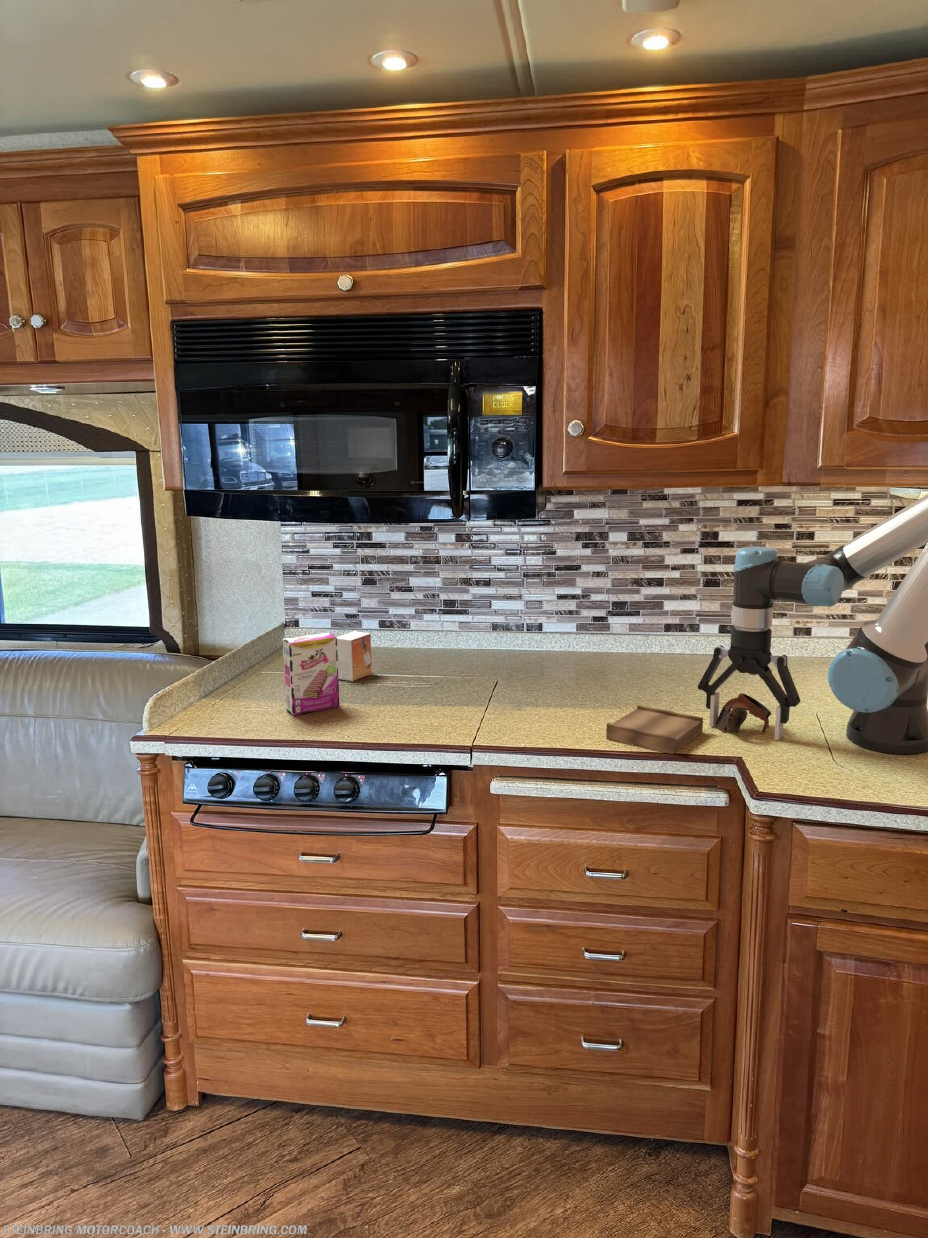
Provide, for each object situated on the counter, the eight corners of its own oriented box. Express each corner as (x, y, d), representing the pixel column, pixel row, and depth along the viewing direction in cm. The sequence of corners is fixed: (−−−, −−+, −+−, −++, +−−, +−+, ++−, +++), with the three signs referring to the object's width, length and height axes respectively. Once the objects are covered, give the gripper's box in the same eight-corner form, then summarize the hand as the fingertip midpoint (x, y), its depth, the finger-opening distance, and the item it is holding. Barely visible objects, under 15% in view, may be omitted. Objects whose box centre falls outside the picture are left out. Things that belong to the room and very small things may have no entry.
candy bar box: (293, 716, 189) (288, 643, 185) (285, 710, 193) (280, 638, 189) (341, 707, 194) (337, 635, 191) (332, 701, 198) (328, 631, 195)
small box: (352, 682, 212) (350, 640, 210) (335, 679, 215) (332, 637, 213) (372, 673, 219) (371, 633, 217) (355, 670, 222) (353, 630, 220)
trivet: (702, 732, 175) (703, 717, 174) (672, 754, 164) (673, 738, 163) (638, 719, 183) (638, 705, 182) (606, 739, 172) (606, 724, 171)
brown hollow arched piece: (718, 720, 183) (741, 688, 181) (757, 748, 178) (780, 715, 176) (703, 723, 172) (726, 689, 170) (744, 753, 168) (768, 718, 166)
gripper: (822, 631, 165) (814, 738, 170) (698, 615, 180) (694, 714, 185) (810, 639, 159) (802, 750, 164) (683, 622, 174) (679, 724, 179)
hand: (745, 731), depth 174 cm, fingers open, 12 cm apart
